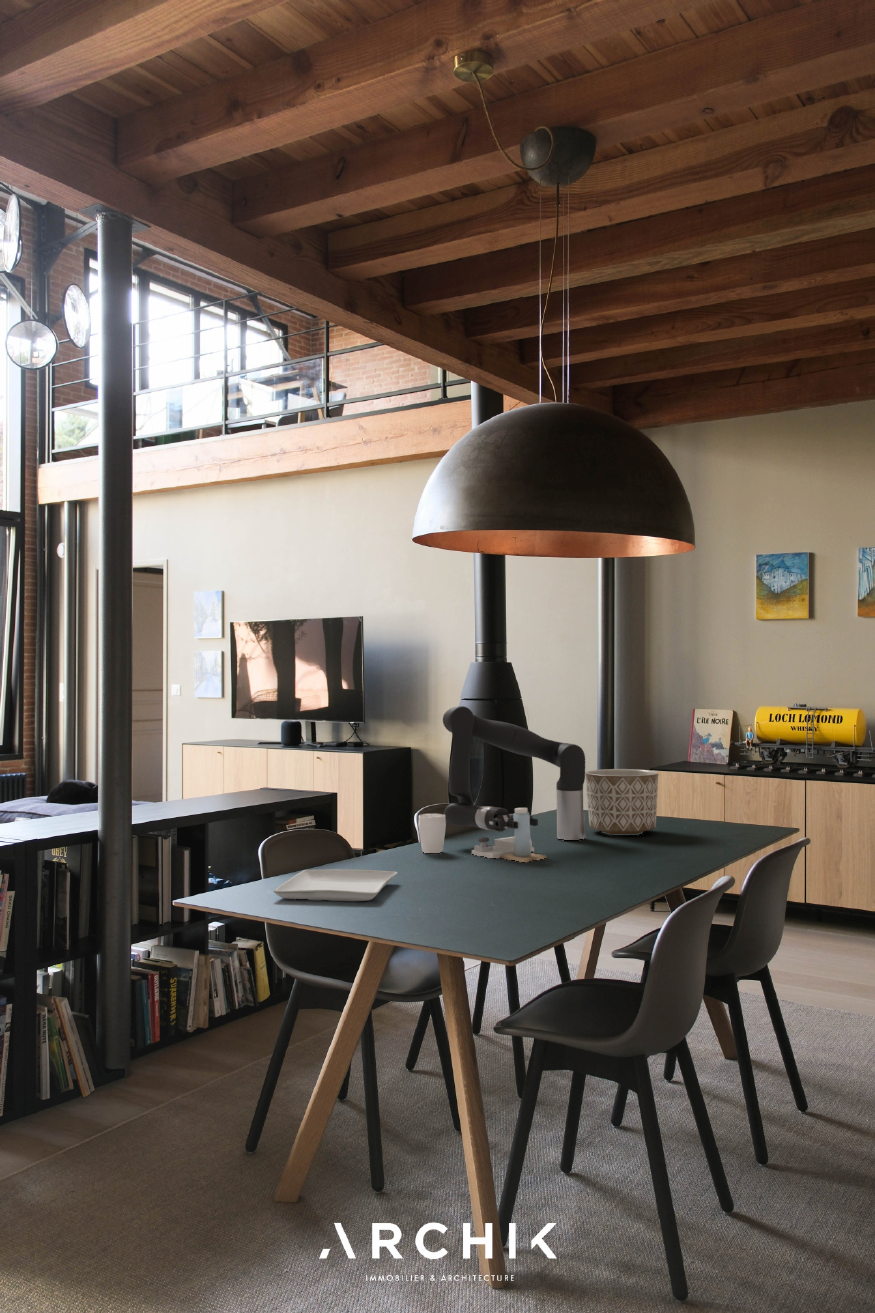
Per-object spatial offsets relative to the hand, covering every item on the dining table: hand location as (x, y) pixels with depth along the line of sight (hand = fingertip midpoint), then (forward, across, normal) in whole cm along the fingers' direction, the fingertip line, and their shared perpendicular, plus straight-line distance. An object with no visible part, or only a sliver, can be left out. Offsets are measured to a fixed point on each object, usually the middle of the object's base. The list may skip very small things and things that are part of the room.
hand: (527, 823), depth 307 cm
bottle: (-2, 0, +10) cm, 10 cm away
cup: (-30, -14, +11) cm, 35 cm away
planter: (-15, +62, +11) cm, 65 cm away
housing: (-13, +2, +11) cm, 17 cm away
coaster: (-2, 0, +11) cm, 11 cm away
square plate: (0, -70, +12) cm, 71 cm away
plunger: (-15, -5, +10) cm, 18 cm away
